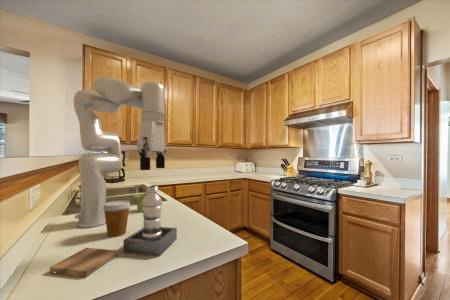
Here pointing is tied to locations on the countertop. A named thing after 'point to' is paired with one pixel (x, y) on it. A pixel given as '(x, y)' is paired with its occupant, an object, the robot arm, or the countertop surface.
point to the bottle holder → (150, 243)
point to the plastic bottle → (152, 214)
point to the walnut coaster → (84, 262)
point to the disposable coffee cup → (116, 217)
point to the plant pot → (140, 201)
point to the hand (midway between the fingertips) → (153, 169)
